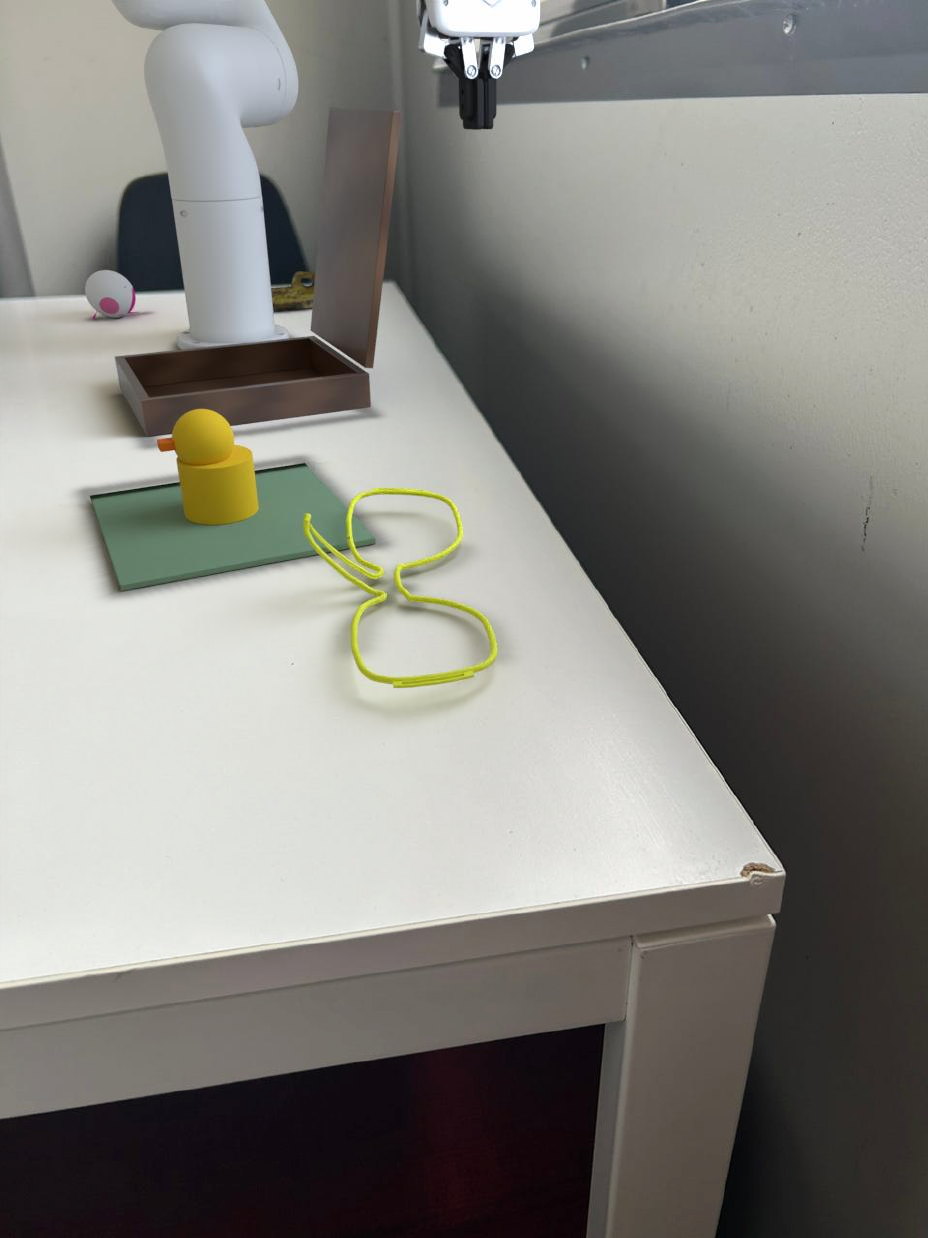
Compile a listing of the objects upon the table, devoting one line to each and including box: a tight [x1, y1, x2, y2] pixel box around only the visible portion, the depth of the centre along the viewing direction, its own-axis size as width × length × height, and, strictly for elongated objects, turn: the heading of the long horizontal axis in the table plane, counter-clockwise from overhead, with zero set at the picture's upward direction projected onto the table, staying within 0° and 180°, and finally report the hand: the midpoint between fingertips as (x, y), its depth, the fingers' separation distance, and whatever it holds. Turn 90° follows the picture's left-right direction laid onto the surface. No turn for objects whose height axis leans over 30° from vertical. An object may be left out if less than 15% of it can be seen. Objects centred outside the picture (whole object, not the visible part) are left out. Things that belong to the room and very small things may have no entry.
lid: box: [310, 106, 403, 369], centre depth 89 cm, size 20×17×1 cm
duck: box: [156, 409, 259, 525], centre depth 66 cm, size 6×5×7 cm
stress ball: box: [84, 269, 139, 320], centre depth 127 cm, size 8×8×7 cm
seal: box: [271, 270, 315, 312], centre depth 132 cm, size 9×5×15 cm
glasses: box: [303, 487, 499, 689], centre depth 57 cm, size 25×10×5 cm, turn 7°
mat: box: [89, 462, 377, 592], centre depth 68 cm, size 18×16×1 cm
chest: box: [114, 335, 372, 438], centre depth 91 cm, size 20×17×4 cm
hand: (478, 128), depth 90 cm, fingers closed
